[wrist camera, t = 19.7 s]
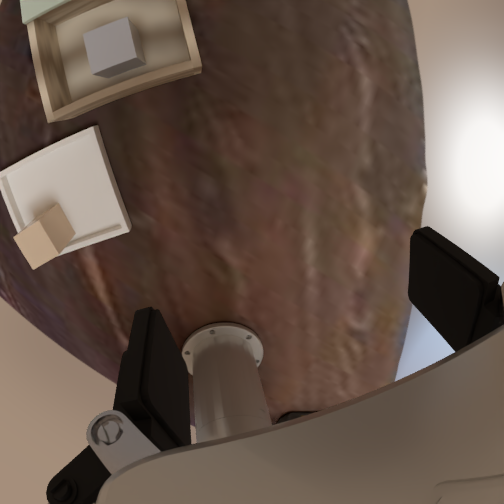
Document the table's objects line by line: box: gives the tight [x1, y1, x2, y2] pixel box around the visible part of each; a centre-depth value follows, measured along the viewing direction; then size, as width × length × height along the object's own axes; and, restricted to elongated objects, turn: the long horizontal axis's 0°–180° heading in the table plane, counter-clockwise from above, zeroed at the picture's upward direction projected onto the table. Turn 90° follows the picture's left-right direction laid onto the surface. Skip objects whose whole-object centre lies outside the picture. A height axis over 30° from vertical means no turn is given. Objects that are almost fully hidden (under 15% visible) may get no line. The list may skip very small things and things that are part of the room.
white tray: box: [0, 125, 132, 256], centre depth 33 cm, size 13×15×2 cm
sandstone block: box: [13, 203, 76, 270], centre depth 32 cm, size 4×4×6 cm
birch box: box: [27, 0, 202, 123], centre depth 25 cm, size 13×16×7 cm
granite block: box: [83, 17, 146, 78], centre depth 25 cm, size 4×4×6 cm
